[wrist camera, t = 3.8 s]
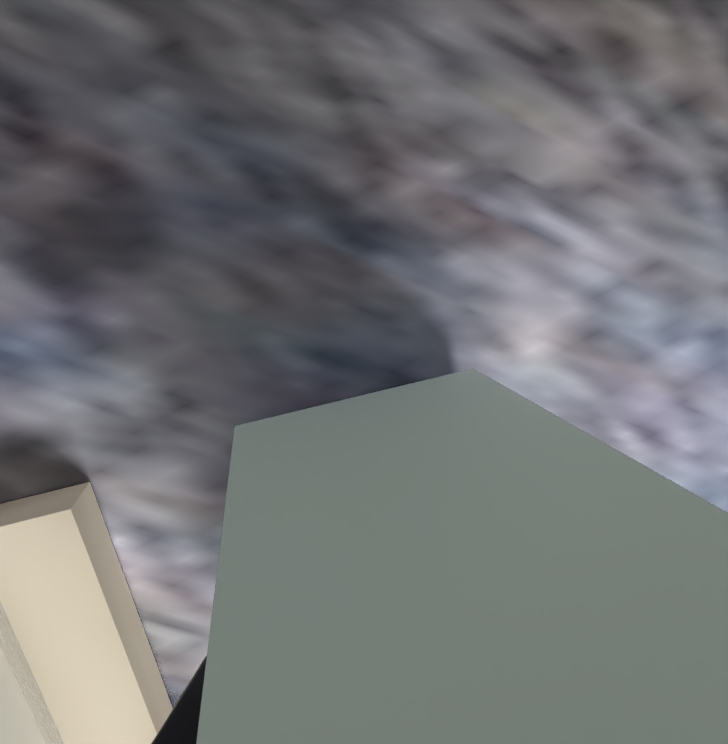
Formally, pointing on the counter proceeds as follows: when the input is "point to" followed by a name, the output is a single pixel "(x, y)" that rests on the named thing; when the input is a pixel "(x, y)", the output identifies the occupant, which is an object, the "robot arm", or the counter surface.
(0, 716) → the mounted modules
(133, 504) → the counter surface
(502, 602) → the loose module
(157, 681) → the mounting panel
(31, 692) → the grey flat piece
